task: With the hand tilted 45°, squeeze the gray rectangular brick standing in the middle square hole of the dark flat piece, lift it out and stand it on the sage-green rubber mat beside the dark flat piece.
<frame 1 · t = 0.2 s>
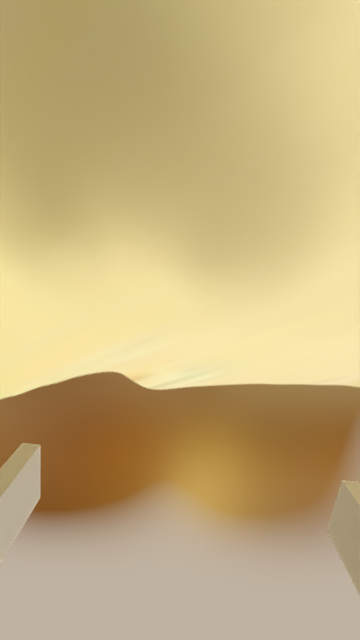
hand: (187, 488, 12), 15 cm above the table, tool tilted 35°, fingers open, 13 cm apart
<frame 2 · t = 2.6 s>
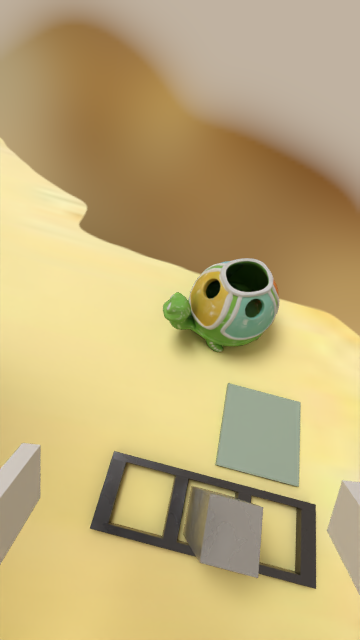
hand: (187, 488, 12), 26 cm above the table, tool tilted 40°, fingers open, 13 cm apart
dark flat piece: (207, 514, 34), on the table
mat: (259, 431, 39), on the table
turtle holder: (216, 321, 47), on the table
gray rectangular brick: (206, 514, 34), resting in dark flat piece
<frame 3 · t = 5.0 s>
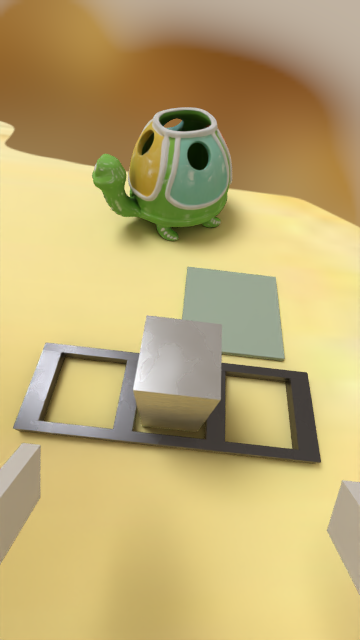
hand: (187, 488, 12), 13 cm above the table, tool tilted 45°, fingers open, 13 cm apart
dark flat piece: (172, 401, 26), on the table
mat: (230, 311, 32), on the table
turtle holder: (169, 215, 40), on the table
gray rectangular brick: (172, 401, 26), resting in dark flat piece
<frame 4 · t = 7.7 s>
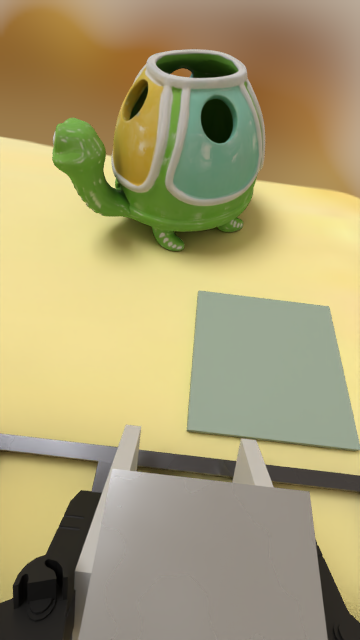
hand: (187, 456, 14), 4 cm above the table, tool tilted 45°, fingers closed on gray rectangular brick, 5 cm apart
dark flat piece: (175, 538, 15), on the table
mat: (265, 362, 21), on the table
turtle holder: (171, 215, 29), on the table
gray rectangular brick: (175, 538, 15), resting in dark flat piece, touching gripper
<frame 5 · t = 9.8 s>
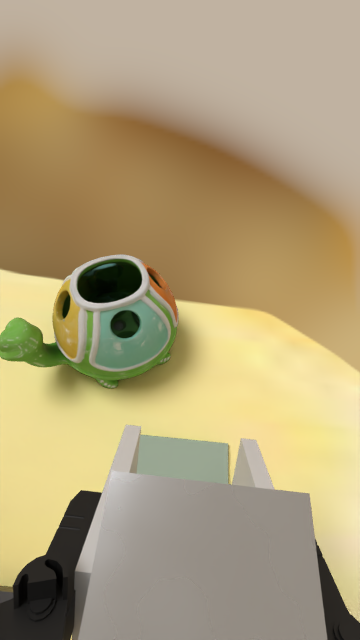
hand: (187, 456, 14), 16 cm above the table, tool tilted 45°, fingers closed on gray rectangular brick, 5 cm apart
mat: (170, 500, 27), on the table
turtle holder: (112, 345, 35), on the table
gray rectangular brick: (175, 539, 15), point 13 cm above the table, touching gripper
when the fingers open (6 cm above the table, at t = 12.2 s): gray rectangular brick drops 1 cm, resting on mat.
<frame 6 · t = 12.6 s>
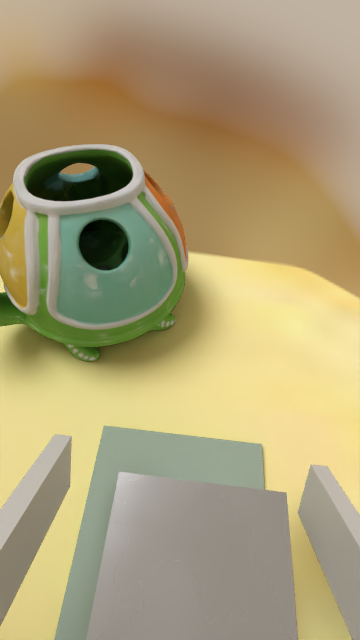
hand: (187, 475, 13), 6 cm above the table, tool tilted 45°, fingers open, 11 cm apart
mat: (173, 533, 17), on the table
turtle holder: (95, 305, 25), on the table
gray rectangular brick: (174, 535, 16), point 1 cm above the table, touching mat
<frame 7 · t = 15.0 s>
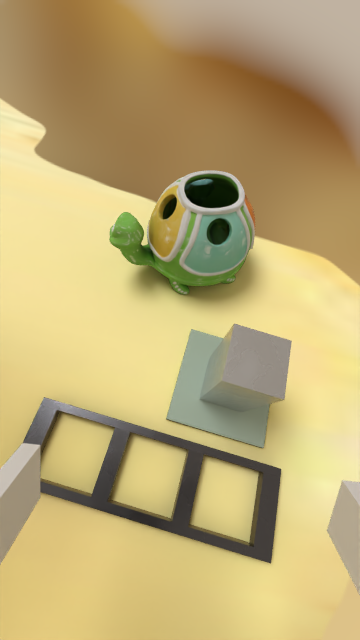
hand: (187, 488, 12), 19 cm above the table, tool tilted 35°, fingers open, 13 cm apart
dark flat piece: (149, 473, 29), on the table
mat: (223, 385, 33), on the table
turtle holder: (185, 261, 40), on the table
gray rectangular brick: (224, 384, 32), point 1 cm above the table, touching mat
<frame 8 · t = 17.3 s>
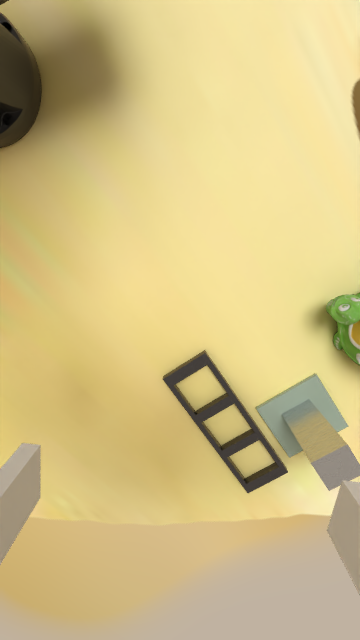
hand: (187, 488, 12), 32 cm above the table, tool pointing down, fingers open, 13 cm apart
dark flat piece: (226, 423, 47), on the table
mat: (301, 415, 46), on the table
gray rectangular brick: (302, 417, 46), point 1 cm above the table, touching mat
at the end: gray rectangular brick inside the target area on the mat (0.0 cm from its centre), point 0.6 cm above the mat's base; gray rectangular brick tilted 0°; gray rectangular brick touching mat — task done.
